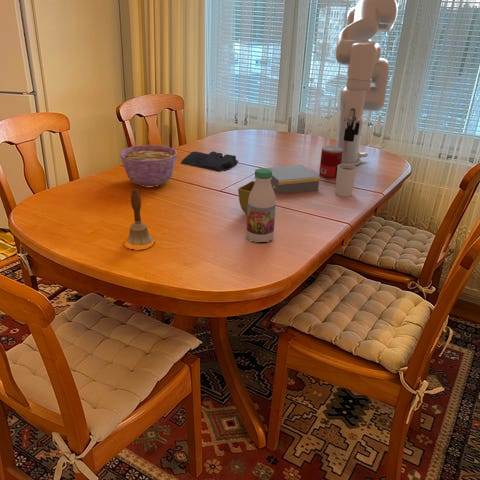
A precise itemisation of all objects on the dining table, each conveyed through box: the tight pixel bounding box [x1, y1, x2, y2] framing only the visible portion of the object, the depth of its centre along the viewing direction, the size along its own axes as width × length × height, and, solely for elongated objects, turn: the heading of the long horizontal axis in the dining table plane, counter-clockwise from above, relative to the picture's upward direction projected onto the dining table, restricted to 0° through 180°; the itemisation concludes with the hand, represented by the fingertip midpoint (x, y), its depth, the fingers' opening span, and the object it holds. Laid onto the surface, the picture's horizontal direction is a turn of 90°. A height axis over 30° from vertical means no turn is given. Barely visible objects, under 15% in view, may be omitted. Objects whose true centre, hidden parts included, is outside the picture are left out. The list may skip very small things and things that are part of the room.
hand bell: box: [126, 188, 154, 246], centre depth 121 cm, size 8×8×16 cm
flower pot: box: [237, 180, 275, 215], centre depth 143 cm, size 9×9×9 cm
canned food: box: [318, 145, 343, 179], centre depth 178 cm, size 8×8×11 cm
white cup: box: [334, 164, 358, 198], centre depth 161 cm, size 7×7×10 cm
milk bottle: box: [246, 167, 277, 243], centre depth 125 cm, size 8×8×20 cm
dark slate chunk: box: [180, 151, 239, 173], centre depth 189 cm, size 15×22×5 cm
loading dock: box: [264, 164, 321, 195], centre depth 168 cm, size 16×15×5 cm
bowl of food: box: [119, 144, 178, 186], centre depth 164 cm, size 20×20×12 cm
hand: (351, 137), depth 154 cm, fingers open, 9 cm apart
